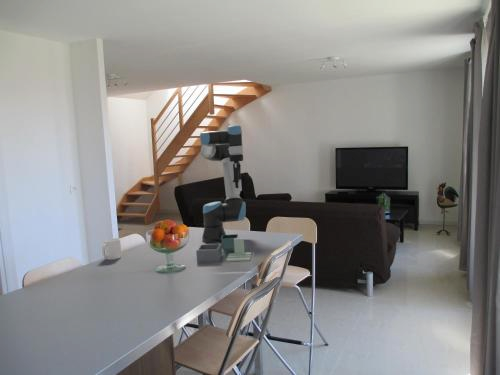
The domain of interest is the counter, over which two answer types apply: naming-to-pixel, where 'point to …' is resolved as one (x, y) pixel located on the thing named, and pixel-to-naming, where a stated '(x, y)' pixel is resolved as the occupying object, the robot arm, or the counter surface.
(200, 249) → the tub
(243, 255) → the lid
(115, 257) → the cup
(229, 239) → the flower pot
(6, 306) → the counter surface
